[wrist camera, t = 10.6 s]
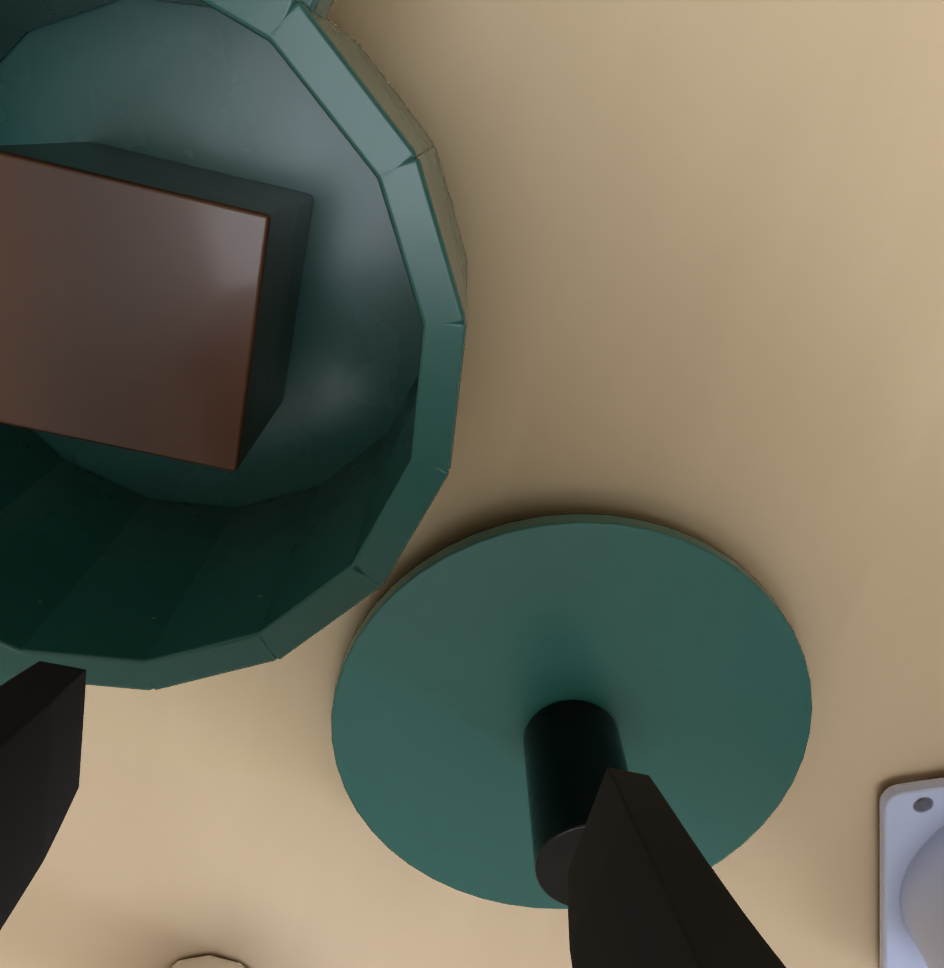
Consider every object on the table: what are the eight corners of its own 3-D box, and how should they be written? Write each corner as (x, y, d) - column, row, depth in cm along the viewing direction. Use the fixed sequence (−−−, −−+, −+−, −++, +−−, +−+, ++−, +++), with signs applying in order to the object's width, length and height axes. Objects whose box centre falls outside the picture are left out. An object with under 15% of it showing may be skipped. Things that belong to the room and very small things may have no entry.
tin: (638, 34, 16) (740, -20, 10) (279, 673, 21) (208, 880, 16) (62, -346, 14) (-249, -709, 8) (-167, 478, 19) (-447, 634, 13)
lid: (893, 633, 21) (1015, 779, 16) (630, 929, 25) (669, 1113, 20) (478, 413, 19) (482, 510, 14) (263, 780, 23) (211, 949, 18)
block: (314, 194, 16) (270, 215, 13) (282, 403, 18) (236, 474, 14) (87, 140, 16) (-25, 145, 12) (76, 358, 18) (-25, 419, 14)
